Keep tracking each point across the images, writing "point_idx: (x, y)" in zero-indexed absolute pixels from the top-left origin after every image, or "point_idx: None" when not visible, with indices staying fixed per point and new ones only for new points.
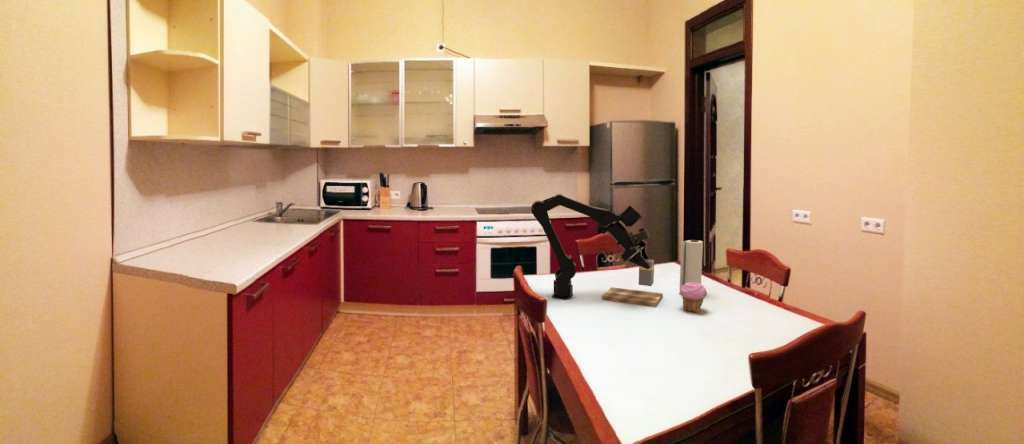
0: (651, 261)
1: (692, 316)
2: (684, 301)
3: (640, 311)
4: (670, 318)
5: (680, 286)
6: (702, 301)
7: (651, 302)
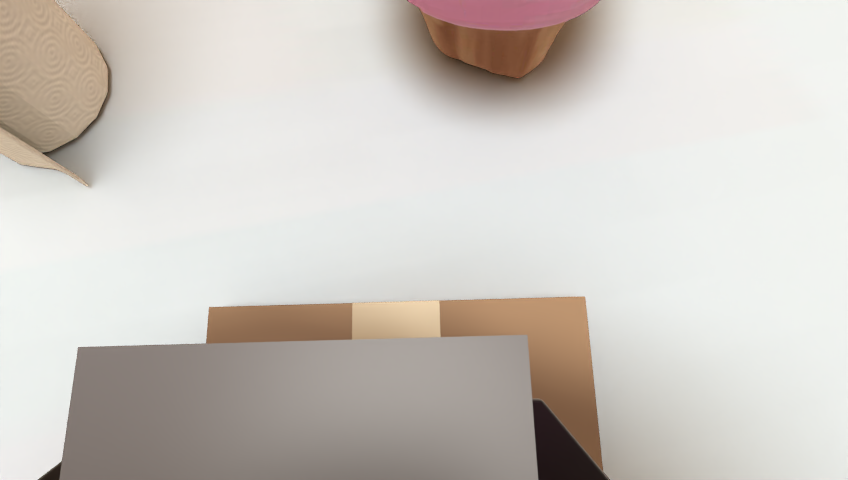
0: (397, 376)
1: (649, 5)
2: (562, 24)
3: (787, 409)
4: (803, 132)
5: (25, 144)
6: None
7: (588, 344)
